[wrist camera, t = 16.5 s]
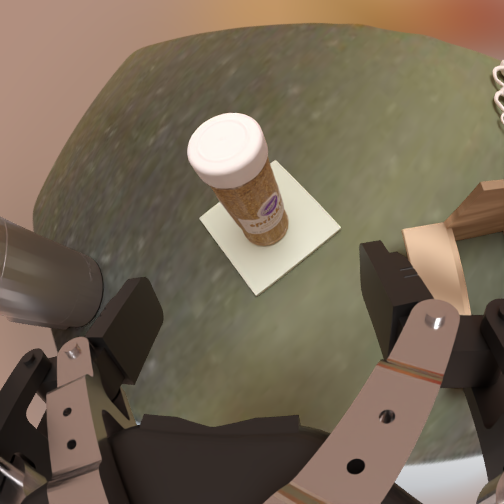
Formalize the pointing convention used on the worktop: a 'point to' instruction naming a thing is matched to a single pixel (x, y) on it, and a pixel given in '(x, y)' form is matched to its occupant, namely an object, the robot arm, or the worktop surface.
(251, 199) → the sprinkles bottle
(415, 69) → the worktop surface
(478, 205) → the carton
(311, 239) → the coaster
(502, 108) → the tangled rod sculpture
